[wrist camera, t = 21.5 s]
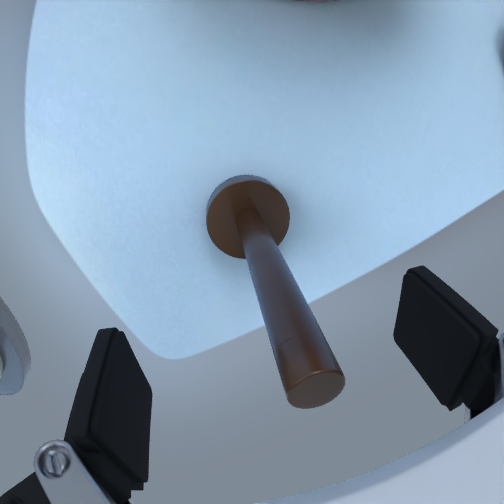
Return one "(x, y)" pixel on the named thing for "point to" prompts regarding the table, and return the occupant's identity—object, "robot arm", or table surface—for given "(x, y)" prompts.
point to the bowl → (316, 0)
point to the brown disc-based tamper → (275, 286)
